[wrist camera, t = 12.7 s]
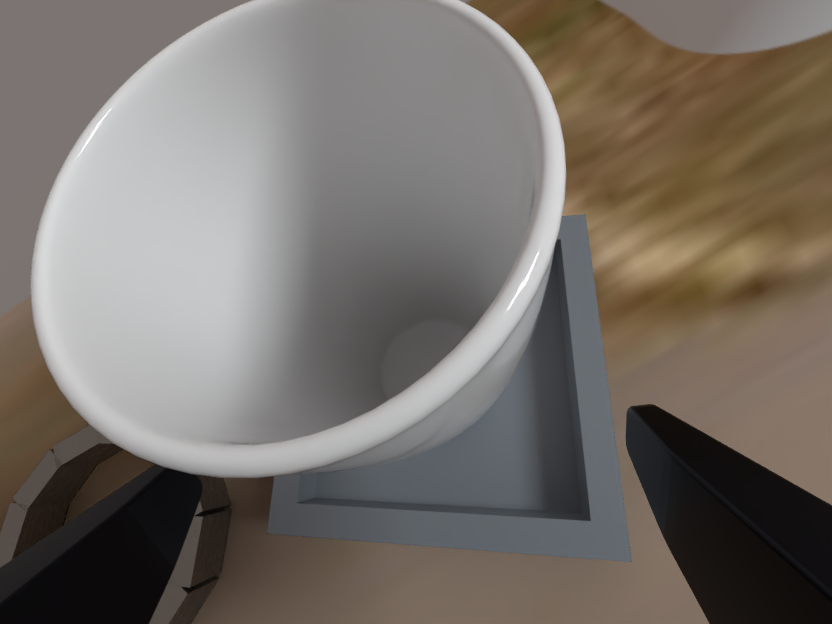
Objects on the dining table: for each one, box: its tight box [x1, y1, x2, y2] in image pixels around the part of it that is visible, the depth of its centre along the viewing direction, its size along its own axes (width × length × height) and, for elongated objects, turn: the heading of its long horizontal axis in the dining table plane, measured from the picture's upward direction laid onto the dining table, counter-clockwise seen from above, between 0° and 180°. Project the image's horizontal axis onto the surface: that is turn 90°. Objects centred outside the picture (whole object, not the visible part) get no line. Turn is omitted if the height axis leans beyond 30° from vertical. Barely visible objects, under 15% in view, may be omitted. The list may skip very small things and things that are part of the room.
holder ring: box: [0, 425, 231, 624], centre depth 19 cm, size 11×11×2 cm
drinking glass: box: [30, 0, 566, 478], centre depth 11 cm, size 7×7×15 cm
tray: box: [267, 214, 632, 562], centre depth 18 cm, size 14×14×2 cm
